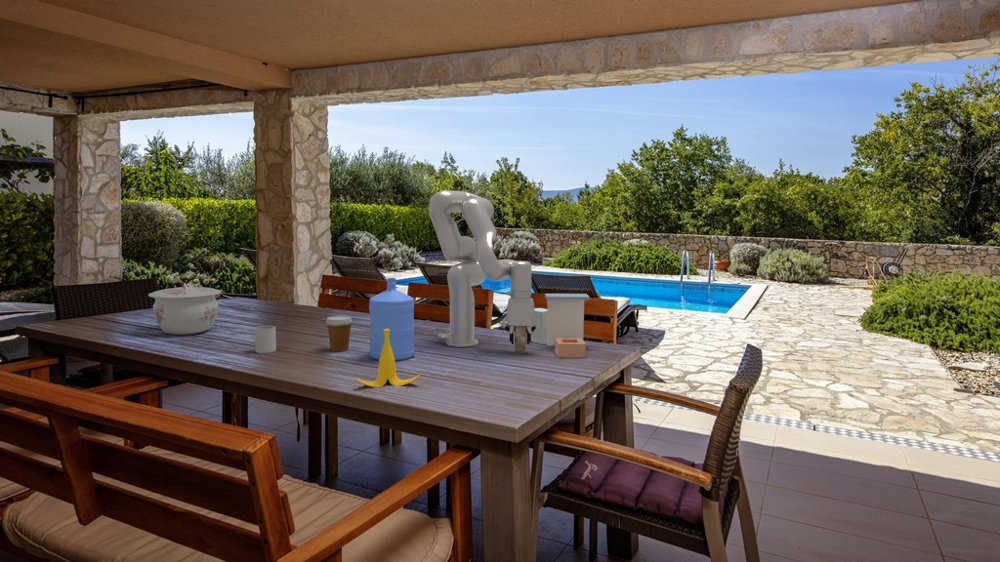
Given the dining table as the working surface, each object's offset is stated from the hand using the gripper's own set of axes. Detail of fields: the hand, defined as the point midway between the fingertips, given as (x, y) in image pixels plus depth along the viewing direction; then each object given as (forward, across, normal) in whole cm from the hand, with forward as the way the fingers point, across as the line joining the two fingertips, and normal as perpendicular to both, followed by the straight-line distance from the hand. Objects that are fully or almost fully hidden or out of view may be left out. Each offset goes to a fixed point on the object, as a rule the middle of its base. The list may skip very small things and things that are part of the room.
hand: (520, 343), depth 234 cm
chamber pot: (+4, -138, +35) cm, 142 cm away
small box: (+4, +9, +19) cm, 21 cm away
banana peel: (+4, -40, -42) cm, 58 cm away
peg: (+3, 0, 0) cm, 3 cm away
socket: (+3, +18, -3) cm, 19 cm away
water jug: (+4, -46, -7) cm, 47 cm away
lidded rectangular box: (+3, +18, +10) cm, 21 cm away
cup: (+4, -93, +1) cm, 93 cm away
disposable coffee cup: (+4, -67, +3) cm, 67 cm away
